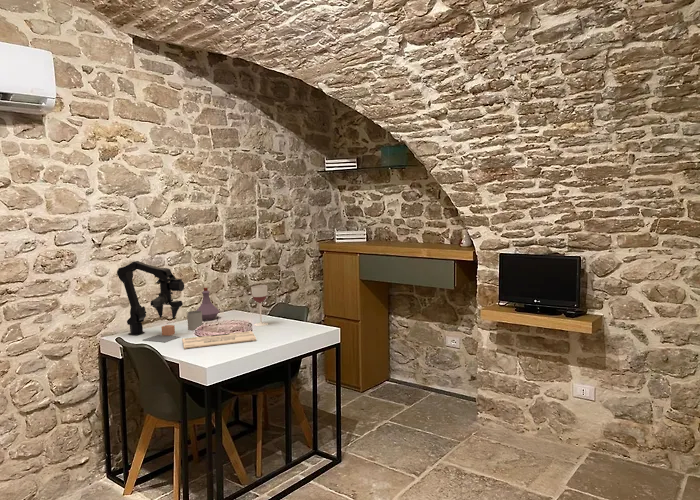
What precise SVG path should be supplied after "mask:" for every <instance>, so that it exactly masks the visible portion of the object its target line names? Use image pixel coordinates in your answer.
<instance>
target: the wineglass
mask: <svg viewBox="0 0 700 500" xmlns="http://www.w3.org/2000/svg"><path fill="white" fill-rule="evenodd" d="M250 289H251V291H250V292H251V295H252V296H251V297H252V299H253V300H254V302H256V303H258V304H259V322H256V323H254V324H253V326H255V327H264V326H268V325H269V323H268V322H263V319H262V303H263V302H265V300H266V299H267V296H268V285H266V284H265V285H264V284H259V285H257V284H256V285H252V286H251V287H250Z"/></svg>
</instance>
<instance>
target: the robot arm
mask: <svg viewBox="0 0 700 500" xmlns="http://www.w3.org/2000/svg"><path fill="white" fill-rule="evenodd" d="M137 270H139V271H142V272H145V273H146V274H147V273H148V274H151V275H152V276H154V277H155V278H157V279H158V280H157V281H156V282H155V283H156V284H159V291H160V292H159V293H158V296H156V298H154V299H153V300H151V301H150V306H152V308H154V309H155V311H156V312H157V313H158V314H157V315H158V316H159V318H160V319H161V318H162V317H163V313H164V312H163V311H164V306H166V305H167V306H170V310H171V317H172V319H173V320H174V319H175V318H176V316H177V313H178V311H179V310H180V308H181V307H182V306H183V305H184V304H183V301H182V300H174V299H173V298H172V295H173V292H183V291H184V290H185V284H184V283H185V282H184V281H183V279H182V278H176V277H175V276H174V274H173V273H172V270H171V269H170V268H168V267H167V268H166V267H157V266H154V265H151V264H148V263H145V262H142V261H140V260H134V261H132V262H131V263H129V264H127V265H125V266H121V267H119V268H118V269H117V270H116V275H117V277H118V278H119V281H121V283H122V284H123V286H124V290H125V292H126V296H127V298H128V299H127V300H128V302H129V305H130V311H129V316H130V317H129V318H128V319H127V320H126V324H127V325H128V326H129V333H128V335H131V336H138V335H142V334H145V333H146V331H144V328H143V323H144V320H145V318H146V317H147V311H146V308H145V307H146V306H142V305H141V304H140V301H139V298H138V295H137V292H136V289H135V286H134V282H133V279H134V272H135V271H137Z"/></svg>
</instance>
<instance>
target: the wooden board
mask: <svg viewBox="0 0 700 500" xmlns="http://www.w3.org/2000/svg"><path fill="white" fill-rule="evenodd" d="M181 342H182V343H183V349H184V350H188V349H189V350H190V349H197V348H198V349H199V348H205V347H215V346H222V345H230V344H240V343H249V342H250V343H251V342H257V336H256V335H255V333H254V332H253V331H252V330H248V331H241V332H240V331H239V332H231V333H221V334H214V335H213V334H212V335H204V336H202V335H201V336H195V337H186V338H185V337H184V338H182V339H181Z"/></svg>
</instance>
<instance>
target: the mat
mask: <svg viewBox="0 0 700 500" xmlns="http://www.w3.org/2000/svg"><path fill="white" fill-rule="evenodd" d="M176 339H180V336H175V335H170V336H167V335H162V334H156V335H152V336H150V337H147V338H143V339H142V341H145V342H156V343H168V342H171V341H173V340H176Z"/></svg>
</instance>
